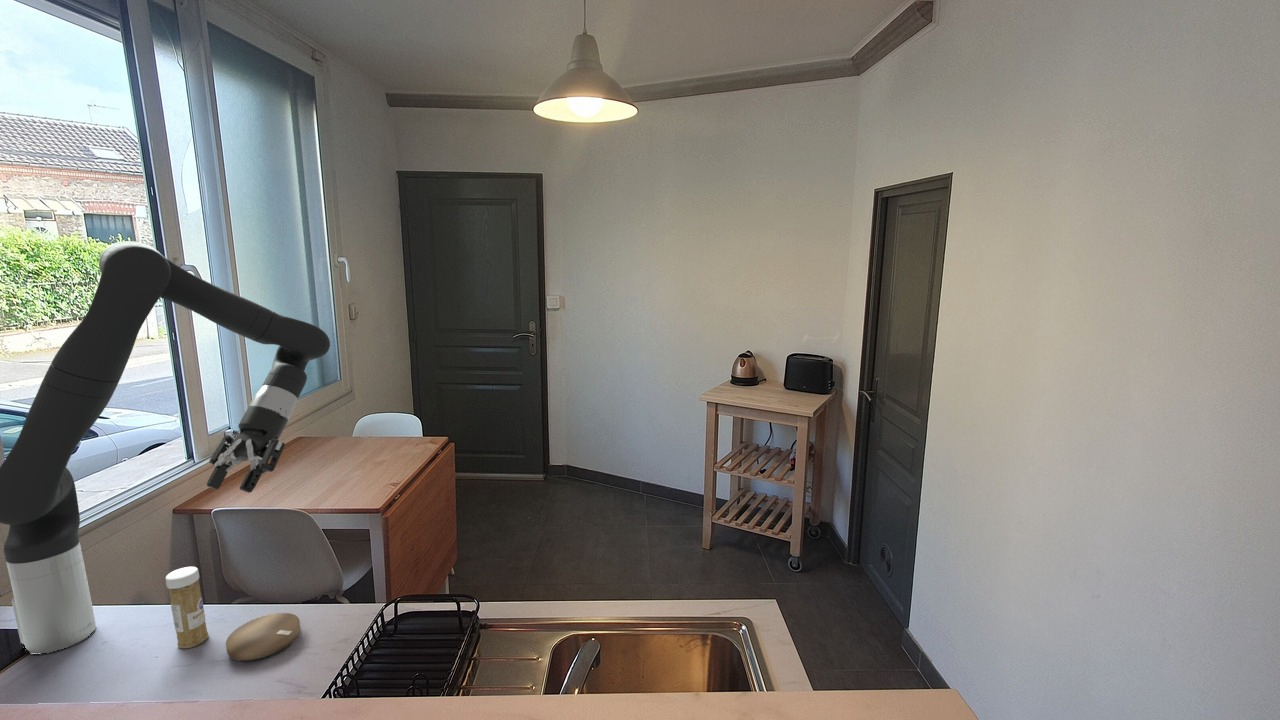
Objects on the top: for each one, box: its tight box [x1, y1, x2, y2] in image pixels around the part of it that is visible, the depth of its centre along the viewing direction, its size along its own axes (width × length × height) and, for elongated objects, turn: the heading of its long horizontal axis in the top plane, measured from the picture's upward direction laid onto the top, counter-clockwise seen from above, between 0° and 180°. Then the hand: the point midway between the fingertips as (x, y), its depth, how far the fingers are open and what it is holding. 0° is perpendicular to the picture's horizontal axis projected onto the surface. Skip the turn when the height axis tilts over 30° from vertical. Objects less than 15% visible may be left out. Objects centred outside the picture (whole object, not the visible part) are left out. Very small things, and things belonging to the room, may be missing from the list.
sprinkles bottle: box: [165, 566, 209, 649], centre depth 104 cm, size 5×5×13 cm
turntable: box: [225, 612, 302, 661], centre depth 103 cm, size 11×11×2 cm
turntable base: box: [238, 641, 294, 663], centre depth 103 cm, size 9×9×1 cm
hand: (228, 489), depth 111 cm, fingers open, 8 cm apart
